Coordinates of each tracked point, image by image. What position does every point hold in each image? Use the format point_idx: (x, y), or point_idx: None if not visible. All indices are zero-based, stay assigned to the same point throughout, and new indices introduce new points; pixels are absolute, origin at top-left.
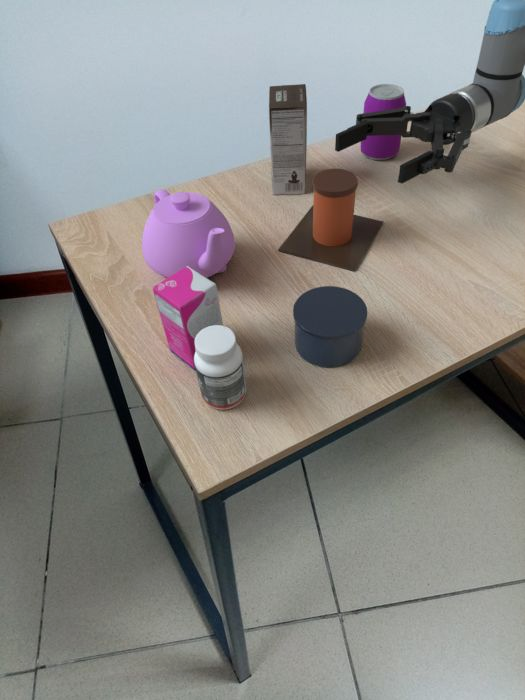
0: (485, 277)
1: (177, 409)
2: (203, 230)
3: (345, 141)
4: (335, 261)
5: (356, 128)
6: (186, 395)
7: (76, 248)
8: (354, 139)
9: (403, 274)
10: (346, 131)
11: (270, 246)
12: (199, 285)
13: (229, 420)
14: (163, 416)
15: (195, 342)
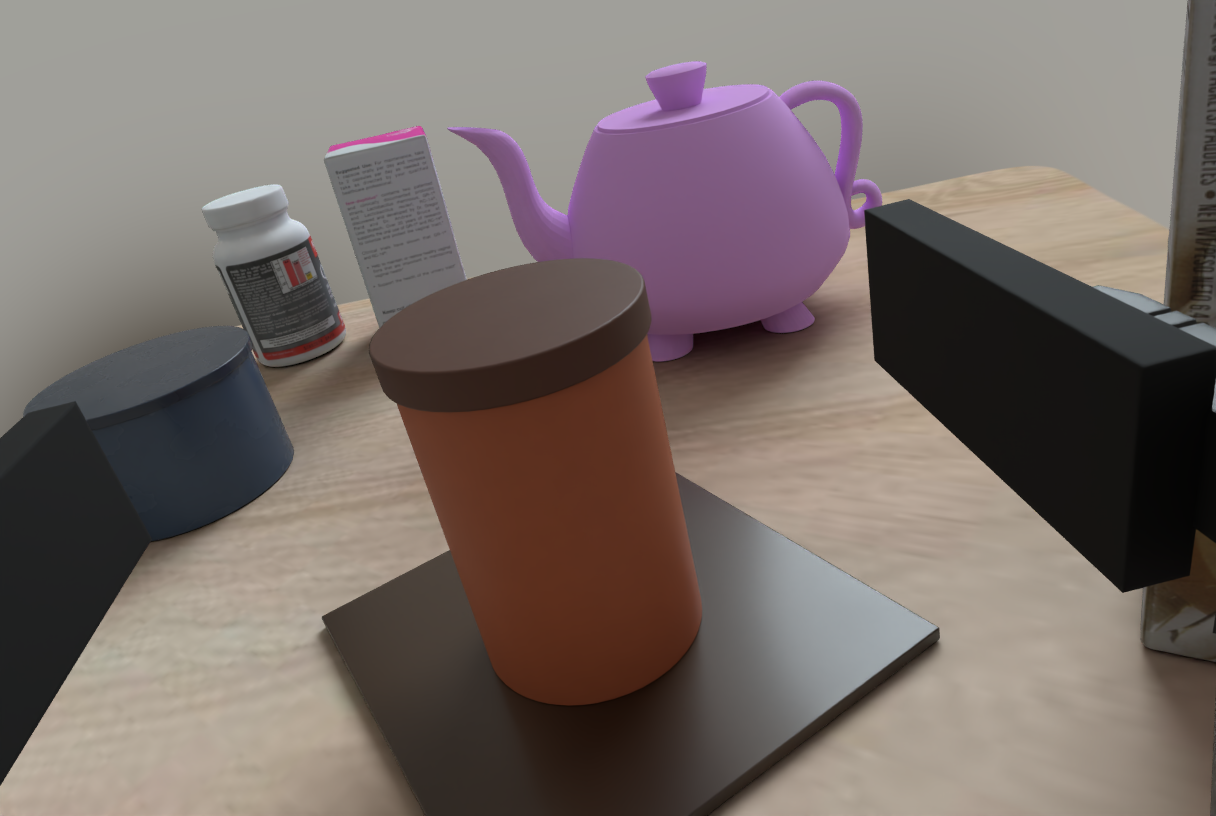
0: None
1: (344, 313)
2: (584, 162)
3: (913, 327)
4: (422, 576)
5: (988, 285)
6: (356, 319)
7: (922, 192)
8: (979, 403)
9: (106, 796)
10: (937, 236)
11: (688, 447)
12: (347, 148)
13: (253, 353)
14: (351, 303)
15: (266, 185)
